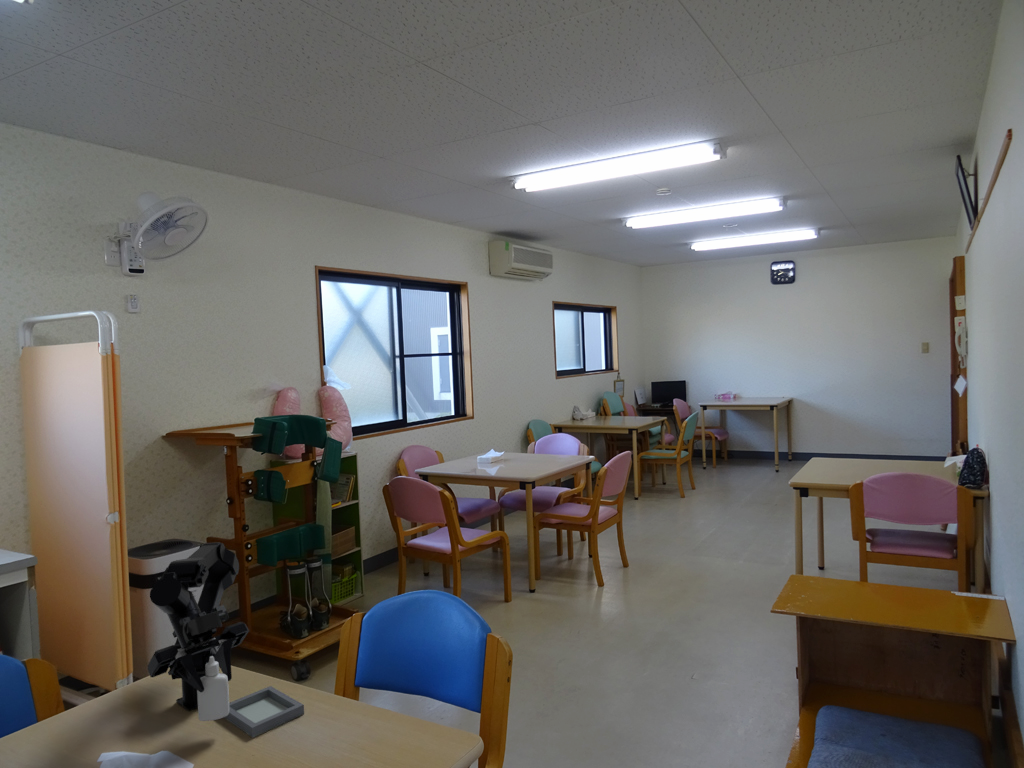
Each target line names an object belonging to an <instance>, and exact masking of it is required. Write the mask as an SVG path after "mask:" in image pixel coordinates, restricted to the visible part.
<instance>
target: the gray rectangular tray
mask: <svg viewBox="0 0 1024 768" xmlns="http://www.w3.org/2000/svg"><path fill="white" fill-rule="evenodd" d="M304 714H305V704H304V703H302V702H300V701H299V700H296V699H294V698H292V697H291V696H289V695H287V694H285V692H282V691H280V690H279V689H277V688H275V687H274V686H271V685H269V686H267V687H264V688H262V689H259V690H257V691H254V692H252V693H250V694H247V695H244V696H243V697H240V698H237V699H235V700H233V701H229V714H228V715H227V716H226V717H223V719H225V720H226V721H227V722H229V723H230V724H232V725H233V726H235V727H236V728H238V729H240V731H242V732H243V733H245V734H247V736H250V737H251V738H252V739H253V738H255V737H258V736H259V735H261V734H264V733H266V732H268V731H271V730H272V729H275V728H276V727H280V726H282V725H284V724H286V723H288V722H290V721H292V720H294V719H296V718H299V717H301V716H303V715H304Z"/></svg>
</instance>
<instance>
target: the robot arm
mask: <svg viewBox="0 0 1024 768" xmlns="http://www.w3.org/2000/svg"><path fill="white" fill-rule="evenodd" d="M237 557H238V556H237V555H236V553H235V552H233V551H232V550H229V549H228V548H227V547H226V546H225V544H224V542H217V541H216V542H204V543H203V544H200V545H199V548H198V549H196V550H195V551H194V552H193V553H192V554H191V555H189V556H188V557H187V558H183V559H176V560H173V561H171V562H170V563H169V564H168V566H167V567H166V568H165V569H164V572H163V573H162V575H161V577H160V578H159V580H157V582H155V583H154V584H153V586H152V588H151V589H150V591H149V599H150V602H152V603H153V605H154V606H156V607H157V608H159V609H160V610H161V611H162V612H163V613H165V614H166V615H167V617H168V620H169V622H170V624H171V625H172V628H173V631H172V636H173V638H174V639H175V638H176V639H175V643H174V644H172V645H169V646H167V647H163V648H160V649H158V650H155V652H154V653H153V654H152V656H151V658H150V660H149V662H148V663H147V671H148V674H149V676H150V678H155V677H158V676H160V675H163V674H166V673H167V674H168V676H171V680H178V679H181V694H182V695H181V696H182V697H180V698H177V699H176V700H175V701H176V703H177V704H178V705H179V706H181V707H182V708H183V709H185V710H186V711H193V710H195V709H198V697H197V690H198V691H199V692H203V691H204V686H203V683H202V681H201V679H200V678H201V677H203V676H205V675H206V672H205V665H206V664H207V663H208V662H209V658H210V657H211V656H213V657H214V660H215V661H217V662H218V663H219V670H221V673H224V674H226V675H227V676H228V682H231V680H232V678H233V677H232V675H233V674H232V661H231V659H232V657H231V656H232V655H231V654H232V648H235V647H237V646H239V645H241V644H242V642H243V641H244V640H245V638H246V637H247V636H248V633H249V632H250V629H249V628H248V625H247V624H246V623H245V622H243V621H239V622H236V623H233V624H230V625H227V626H225V628H224V629H223V631H222V632H221V634H219V635H216V636H214V637H213V635H215V634H216V633H217V629H218V628H222V627H223V623H224V622H225V621H227V620H229V612H228V610H227V608H226V607H225V605H224V604H222V605H220V604H221V601H222V598H223V595H224V592H225V591H226V590H227V589H228V588H230V587H231V586H232V585H234V582H235V579H236V578H237V577H236V576H237V575H238V574H239V570H240V563H239V560H238V558H237ZM201 587H202V590H201V593H200V596H199V599H198V601H197V600H196V598H195V595H194V594H193V592H192V591H191V590H190V589H194V588H201Z"/></svg>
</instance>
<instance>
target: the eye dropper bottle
mask: <svg viewBox="0 0 1024 768" xmlns="http://www.w3.org/2000/svg"><path fill="white" fill-rule="evenodd" d="M205 672H206V675H205V676H203V677H201V678H200V679H201V681H202V683H203V686H204V691H203V692H199V691H198V690H197V697H198V708H197V713H198V715H197V717H198V720H199V721H202V722H209V721H215V720H219V719H222V718H223V717H226V716H227V715H228V714H229V703H230V694H229V693H230V691H229V681H228V676H227V675H226V674H224V673H223V672H220V667H219V663H218V662H217V661H215V660H214V657H213V656H211V657H210V658H209V662H208V663H207V664H206V665H205ZM223 719H224V718H223Z"/></svg>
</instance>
